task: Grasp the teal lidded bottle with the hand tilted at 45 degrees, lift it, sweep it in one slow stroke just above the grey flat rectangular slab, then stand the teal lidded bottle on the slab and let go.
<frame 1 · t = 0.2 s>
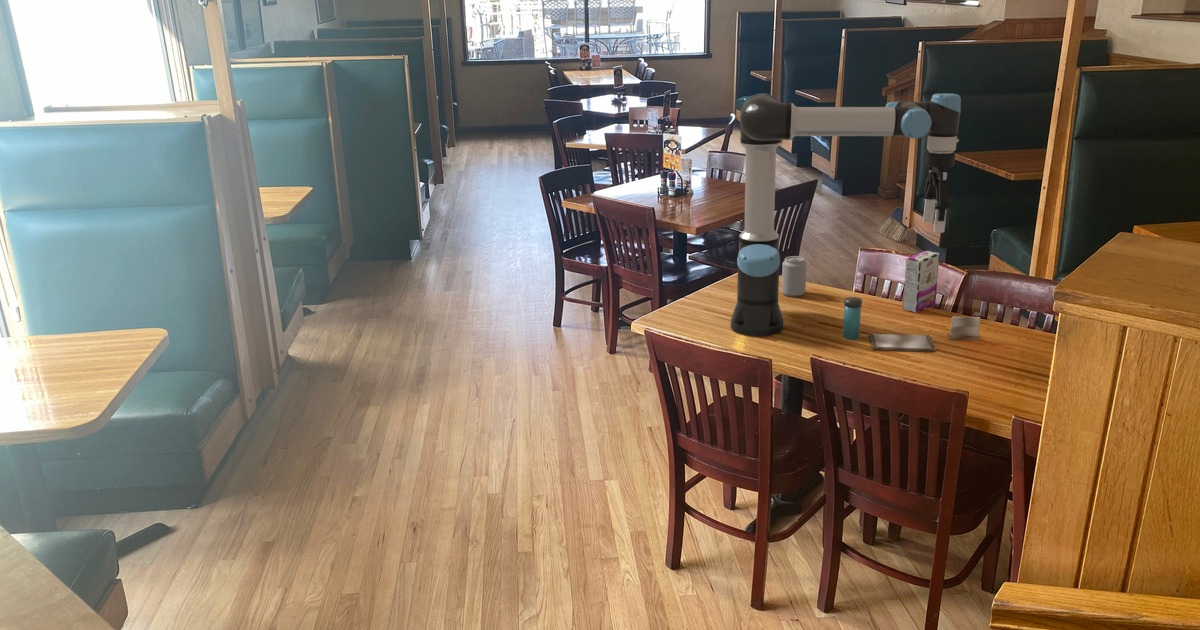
hand: (933, 227, 247), 27 cm above the table, tool pointing down, fingers open, 13 cm apart
word sign: (963, 339, 239), on the table
grey flat rectangular slab: (901, 343, 237), on the table
can: (793, 294, 281), on the table
candy bar box: (918, 307, 264), on the table
teal lidded bottle: (850, 336, 244), on the table
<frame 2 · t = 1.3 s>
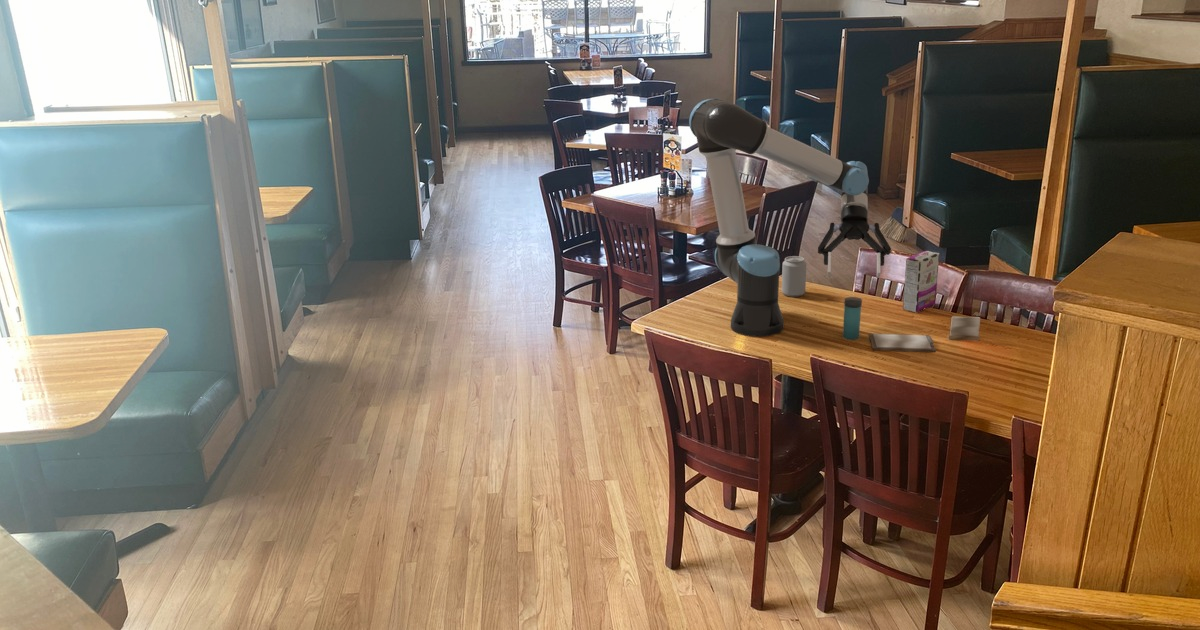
hand: (853, 274, 248), 15 cm above the table, tool tilted 45°, fingers open, 13 cm apart
nothing on the table moved.
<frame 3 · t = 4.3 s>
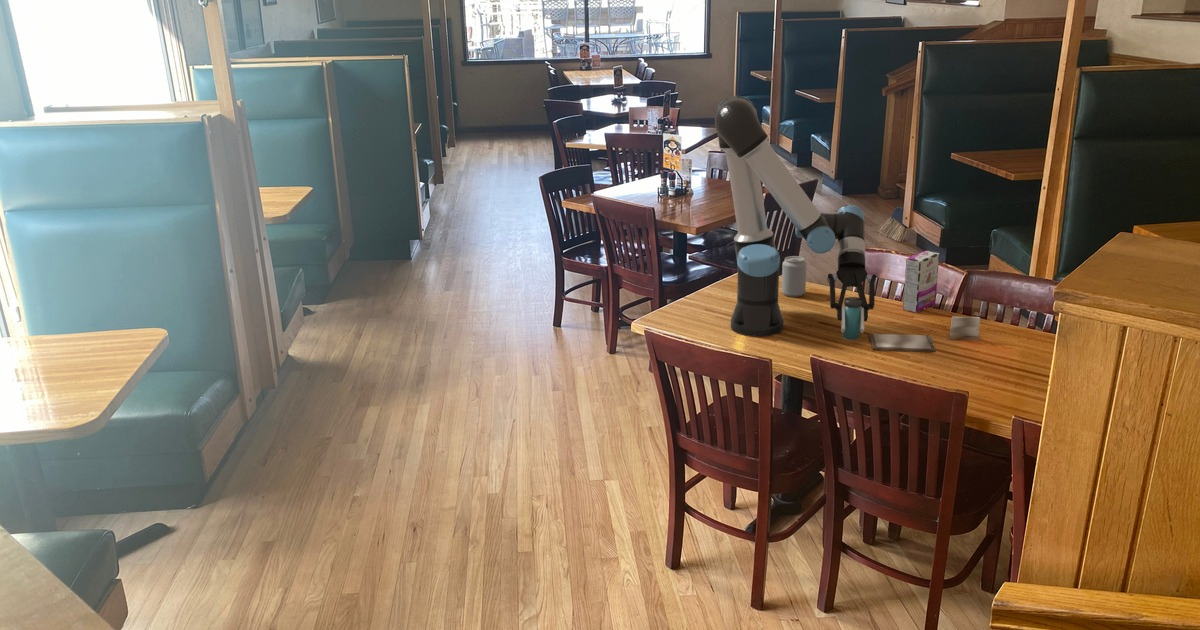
hand: (852, 330, 239), 3 cm above the table, tool tilted 45°, fingers closed on teal lidded bottle, 4 cm apart
teal lidded bottle: (850, 336, 244), on the table, touching gripper
everything else where it was.
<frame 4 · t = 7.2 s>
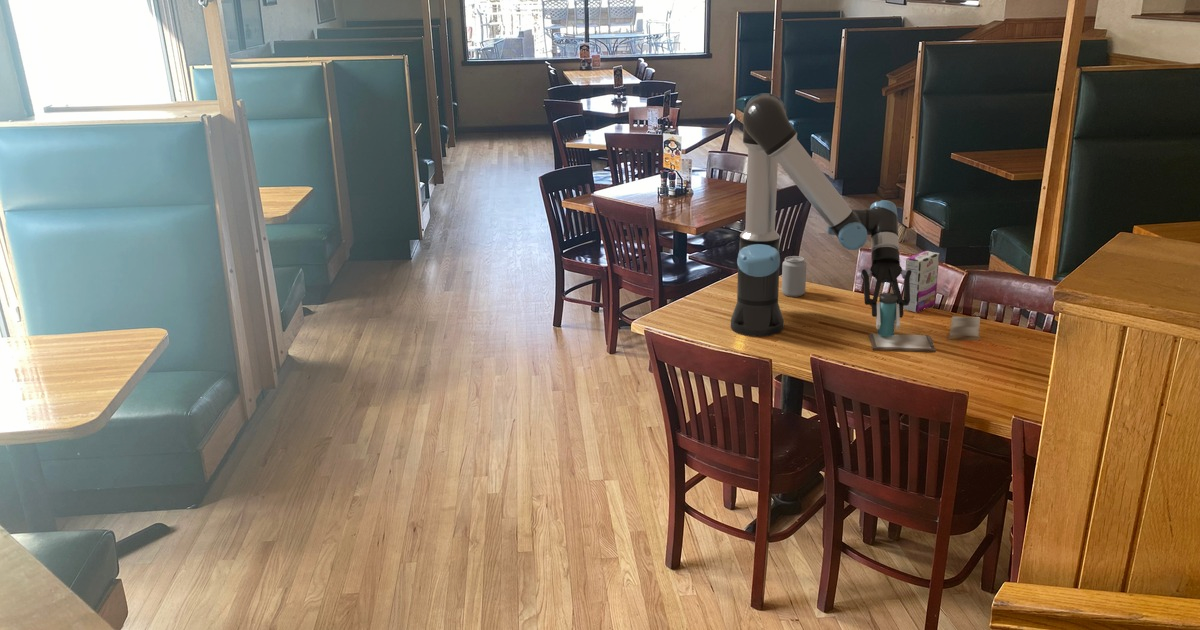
hand: (888, 327, 236), 5 cm above the table, tool tilted 45°, fingers closed on teal lidded bottle, 4 cm apart
teal lidded bottle: (885, 333, 240), point 2 cm above the table, touching gripper
everything else where it was.
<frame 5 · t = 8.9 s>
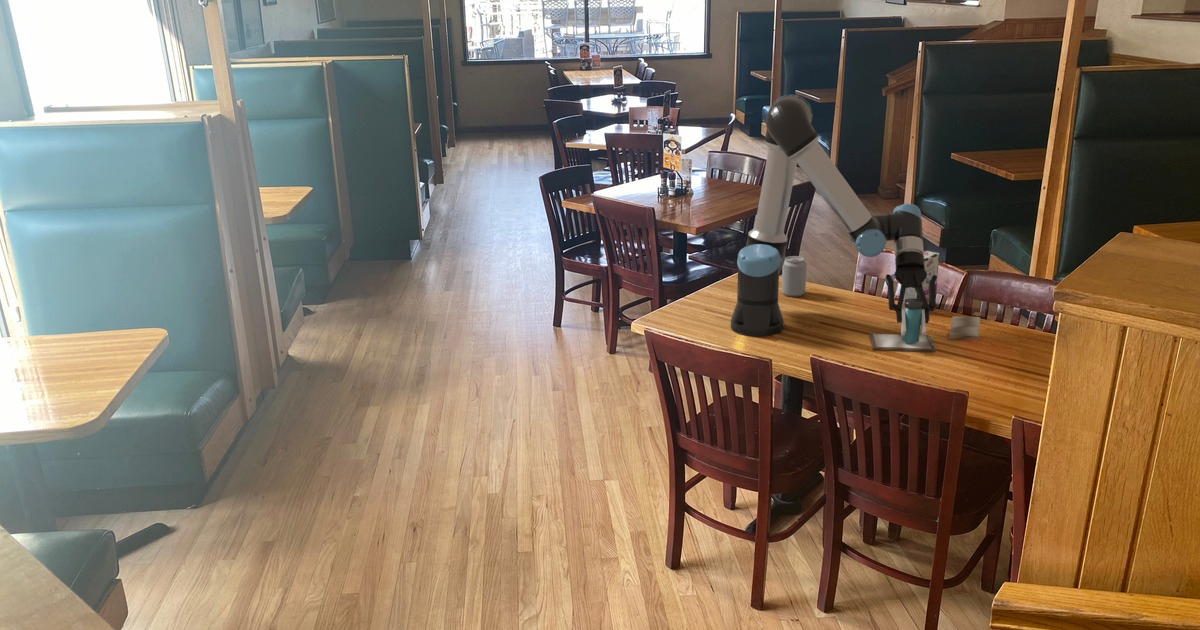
hand: (913, 333, 231), 5 cm above the table, tool tilted 45°, fingers closed on teal lidded bottle, 4 cm apart
teal lidded bottle: (910, 339, 236), point 2 cm above the table, touching gripper
everything else where it was.
when the fingers open (4 cm above the table, at t = 10.2 s): teal lidded bottle stays where it is, resting on grey flat rectangular slab.
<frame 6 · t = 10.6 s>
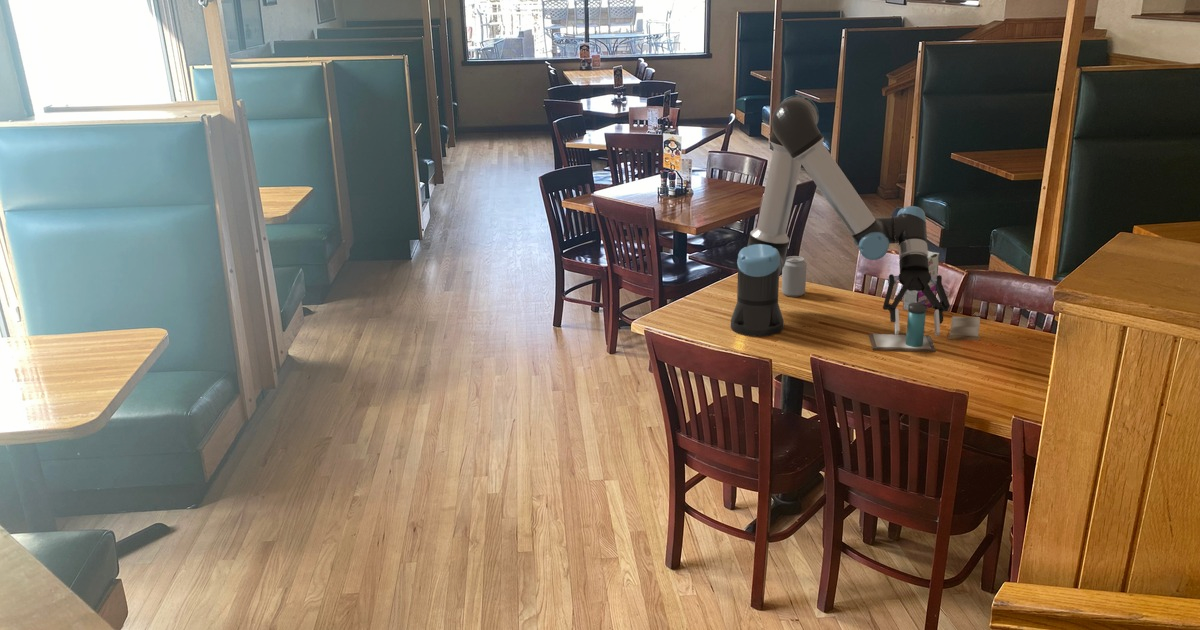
hand: (917, 333, 230), 5 cm above the table, tool tilted 45°, fingers open, 9 cm apart
teal lidded bottle: (914, 343, 235), point 1 cm above the table, touching grey flat rectangular slab
everything else where it was.
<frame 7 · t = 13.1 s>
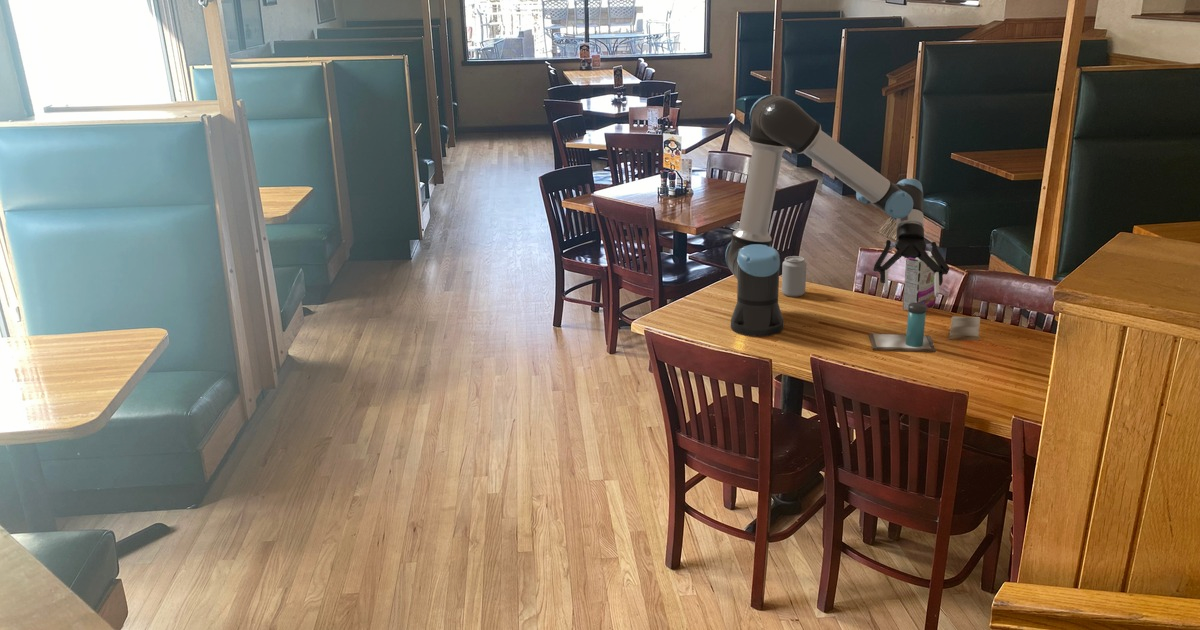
hand: (911, 293, 244), 11 cm above the table, tool tilted 45°, fingers open, 13 cm apart
nothing on the table moved.
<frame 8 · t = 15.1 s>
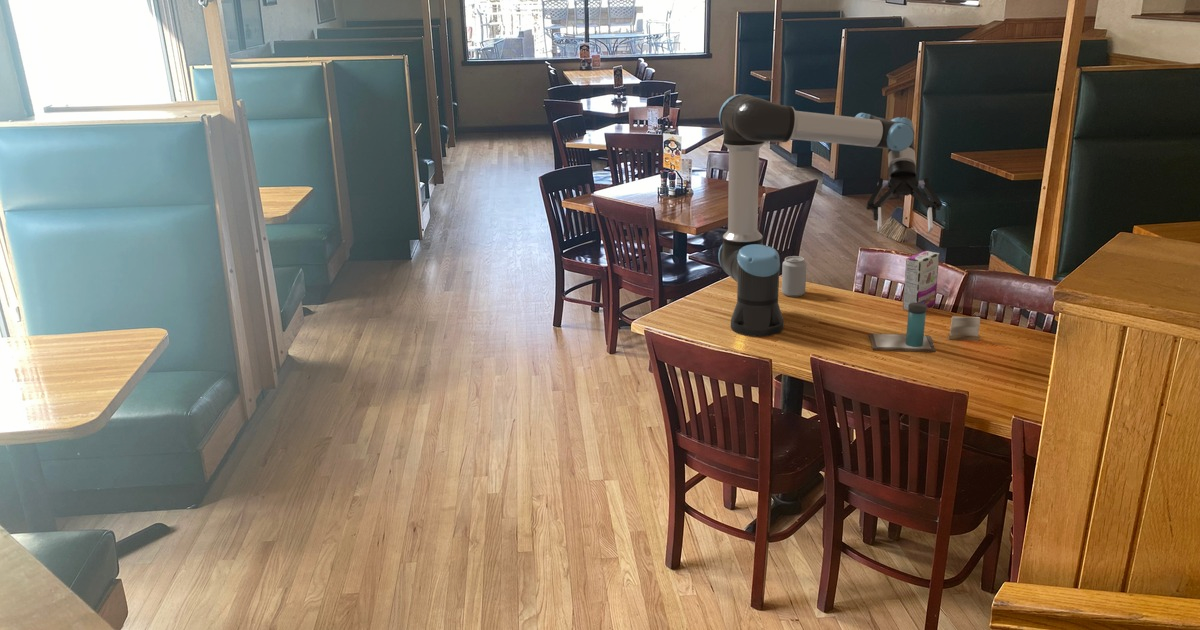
hand: (905, 229, 243), 28 cm above the table, tool tilted 45°, fingers open, 13 cm apart
nothing on the table moved.
at the end: teal lidded bottle inside the target area on the grey flat rectangular slab (3.6 cm from its centre), point 0.8 cm above the grey flat rectangular slab's base; the gripper is holding nothing; teal lidded bottle moved 17.1 cm from its start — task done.
